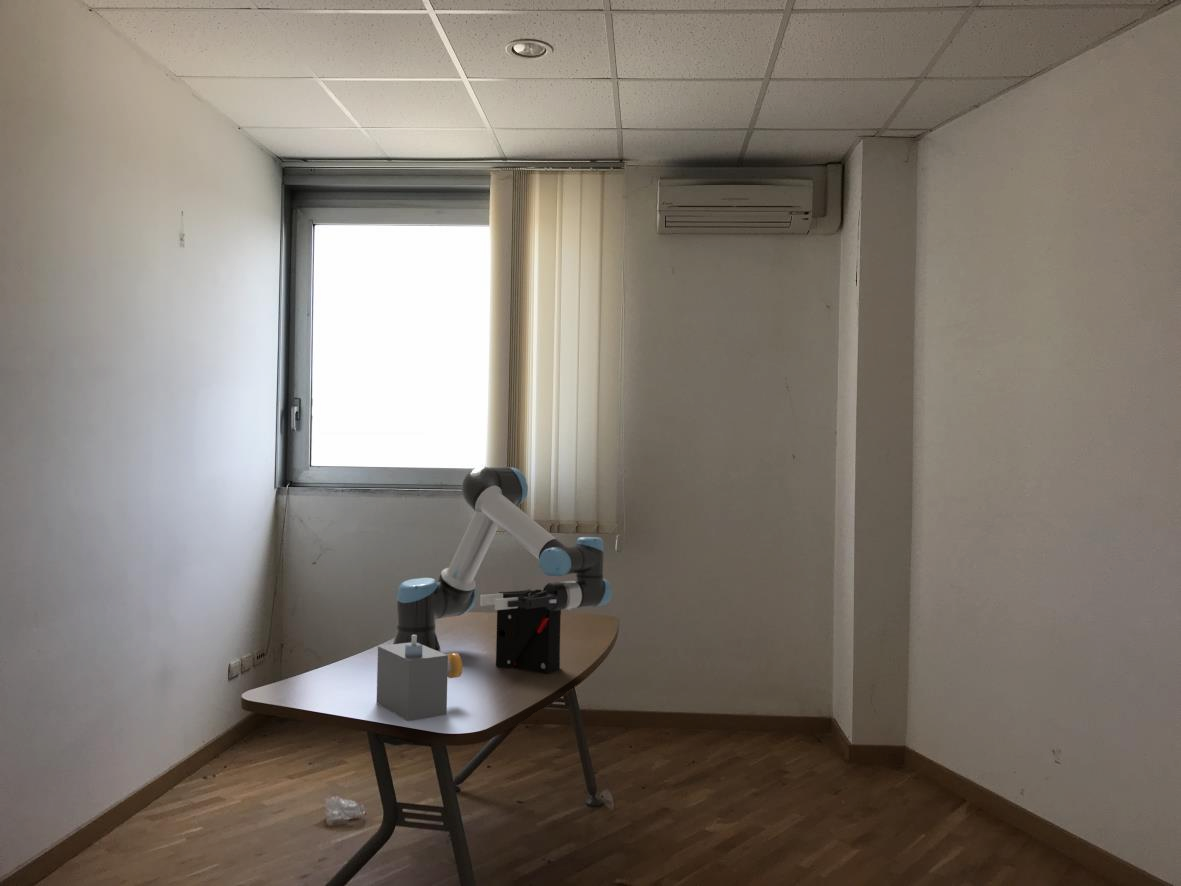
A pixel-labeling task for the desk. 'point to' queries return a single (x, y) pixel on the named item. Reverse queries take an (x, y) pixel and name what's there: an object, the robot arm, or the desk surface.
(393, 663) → the housing
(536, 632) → the electrical component
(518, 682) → the desk surface
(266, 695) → the desk surface
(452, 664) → the knob
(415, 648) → the knob
